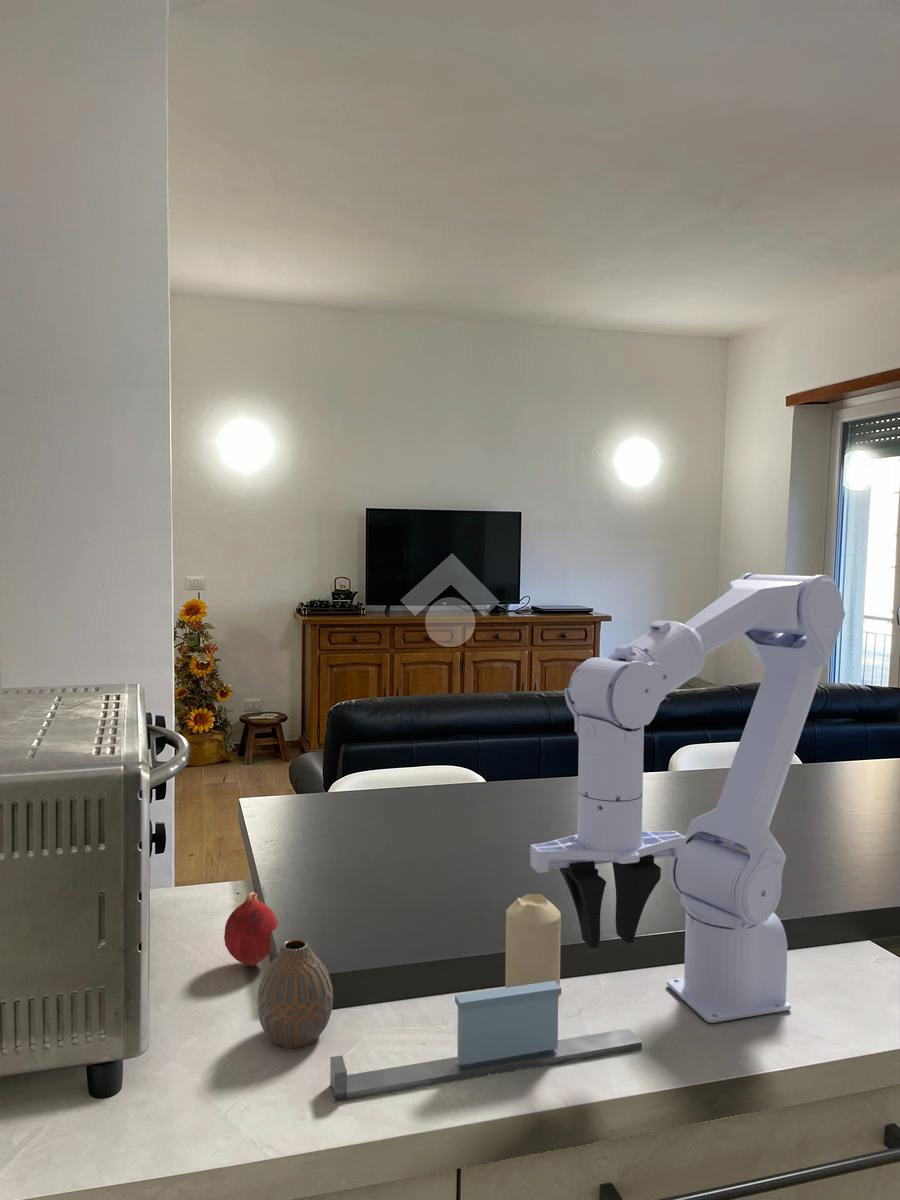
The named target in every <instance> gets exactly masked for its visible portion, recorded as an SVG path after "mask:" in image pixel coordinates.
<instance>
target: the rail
mask: <svg viewBox="0 0 900 1200" xmlns="http://www.w3.org/2000/svg"><path fill="white" fill-rule="evenodd" d="M642 1049H643V1041H641V1039H640V1038H639V1037H638V1036H637V1035H636V1034H635V1033H634V1031H633V1030H632V1029H631V1028H624V1029H623V1028H622V1029H618V1030H612V1031H607V1032H606V1031H605V1032H600V1033H593V1034H588V1035H581V1036H575V1037H569V1038H568V1037H567V1038H564V1039H563V1038H562V1039H558V1049H552V1050H546V1051H540V1052H534V1053H528V1054H522V1055H516V1056H511V1057H505V1058H499V1059H493V1060H487V1061H481V1062H475V1063H469V1064H463V1065H461V1064H460V1062H459V1060H458V1056H455V1057H448V1058H442V1059H436V1060H430V1061H425V1062H424V1061H423V1062H419V1063H412V1064H406V1065H401V1066H393V1067H388V1068H383V1069H381V1068H380V1069H377V1070H376V1069H375V1070H369V1071H364V1072H357V1073H351V1074H348V1070H347V1068H346V1064H345V1063H346V1062H345V1060H344V1058H343V1057H344V1056H343V1055H336V1056H335V1055H334V1056H330V1061H329V1063H330V1064H329V1065H330V1071H329V1072H330V1073H329V1074H330V1076H329V1077H330V1079H329V1081H330V1088H331V1089H330V1090H331V1092H332V1096H333V1100H334V1102H335V1103H337V1102H343V1101H349V1100H354V1099H359V1098H365V1097H366V1098H367V1097H372V1096H377V1095H383V1094H389V1093H395V1092H401V1091H405V1090H406V1091H407V1090H412V1089H416V1088H424V1087H428V1086H433V1085H434V1086H435V1085H440V1084H441V1085H442V1084H446V1083H451V1082H458V1081H463V1080H468V1079H475V1077H476V1078H481V1076H482V1077H487V1076H492V1075H491V1074H493V1075H497V1074H496V1073H499V1074H503V1072H505V1073H510V1071H511V1072H515V1071H520V1070H521V1069H522V1070H527V1068H528V1069H532V1068H533V1069H534V1068H538V1067H543V1066H549V1065H555V1064H561V1063H567V1062H572V1061H573V1062H574V1061H579V1060H584V1059H590V1058H596V1057H602V1056H607V1055H614V1054H619V1053H624V1052H625V1053H627V1052H631V1051H637V1050H642ZM488 1074H489V1075H488Z"/></svg>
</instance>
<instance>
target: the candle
mask: <svg viewBox="0 0 900 1200" xmlns="http://www.w3.org/2000/svg"><path fill="white" fill-rule="evenodd" d="M561 914H562V913H561V912H560V910H559V908H557V907H556V906H555V905H554V904H553V903H552V902H551V901H550V900H548V898H546V897H545V896H544V895H542V894H541V893H535V894H534V893H531V894H529V893H528V894H525V895H523V897H517V899H516V900H515V901H514V902H513V903H512V904H511V905H510V906H508V908H507V909H506V911H505V983H504V985H505V987H504V988H508V987H514V986H521V985H528V984H535V983H542V982H549V981H556V982H557V983H558V985H559V986H560V987H561V929H562V928H561V926H562V925H561V924H562V923H561V921H562V920H561V919H562V918H561V917H562V916H561ZM558 998H560V995H558Z"/></svg>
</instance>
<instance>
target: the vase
mask: <svg viewBox="0 0 900 1200" xmlns="http://www.w3.org/2000/svg"><path fill="white" fill-rule="evenodd" d="M260 979H261V980H260V982H259V985H258V991H257V1000H256V1005H257V1007H256V1008H257V1015H258V1019H259V1020H258V1021H259V1022H260V1026H261V1028H262V1030H263V1031H264V1034H265V1035H266V1036H267V1037H268V1038H269V1039H270V1040H271V1041H272V1042H273V1043H275V1044H276V1045H278V1046H280V1047H283V1048H288V1049H289V1048H290V1049H295V1048H302V1047H305V1046H307V1045H310V1044H311V1043H313V1042H314V1041H315V1040H317V1038H318V1037H320V1036H321V1034H322V1033H323V1032H324V1031H325V1029H326V1028H327V1025H328V1023H329V1022H330V1021H329V1020H330V1018H331V1014H332V1011H333V1005H334V1004H333V1002H334V994H333V993H334V991H333V984H332V981H331V978H330V974H329V971H328V969H327V968H326V966H325V964H323V962H322V961H321V960H320V958H319V957H318V956H317V955H316V954H315V953H314V952H313V950H312V949H311V946H310V944H309V942H308V941H307V940H306V939H303V938H293V939H287V940H286V941H284V942H283V943H282V945H281V946H280V949H279V952H278V954H276V956H275V957H274V959H273V960H272V961H271V962H270V964H269V965H268V966H267V968H266V969H265V971H264V973H263V975H262V976H261V978H260Z"/></svg>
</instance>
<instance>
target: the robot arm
mask: <svg viewBox="0 0 900 1200" xmlns="http://www.w3.org/2000/svg"><path fill="white" fill-rule="evenodd" d="M842 598H843V597H842V594H841V591H840V589H839V587H838V585H837V583H836V581H835V580H834V579H833V578H832V577H831V576H828V575H827V574H816V575H793V574H791V575H790V574H789V575H786V574H785V575H784V574H783V575H782V574H760V573H757V572H747V573H744V574H743V575H741V576H740V577H739V578H737V579H734V580H732V581H730V582H729V583H728V585H727V590H726V592H725V593H724V594H722V596H720V597H718V598H717V599H715V600H714V601H713V602H712V603H710V604H709V605H707V606H706V607H705V608H704V609H702V610H701V611H700V612H698V613H697V614H696V615H694V616H693V617H691V618H690V619H689V620H687V621H686V622H685V623H681V622H679V621H675V620H659V619H658V620H654V622H652V623H650V624H649V630H648V632H645V634H642V635H641V636H639V637H638V638H636V639H634V640H632V641H631V642H629V643H627V644H626V643H622V644H619V645H617V646H616V647H615V649H614V652H612V653H611V654H610V655H609V656H608V657H607V658H606V657H605V658H603V657H596V656H595V657H590V658H588V659H585V661H583V662H582V663H581V664H580V665H579V666H577V667H576V668H575V670H574V671H573V672H572V674H571V677H570V680H569V683H568V687H567V688H566V687H565V688H564V697H565V702H566V706H567V708H568V709H569V711H570V712H571V714H572V716H573V718H574V719H573V720H574V732H575V733H576V735H577V737H578V759H577V760H578V766H577V767H578V768H577V770H578V772H577V773H578V774H577V780H578V781H577V790H578V791H577V833H576V834H574V835H570V836H566V837H562V838H558V839H553V840H550V841H546V842H541V843H540V842H539V843H534V844H529V845H530V847H529V848H530V849H529V851H530V855H529V856H530V858H529V866H530V867H532V869H533V870H534V871H535V872H537V873H538V874H545V873H549V872H550V870H554V869H559V871H560V873H561V875H562V877H563V879H564V881H565V883H566V886H567V889H568V890H569V892H570V895H571V897H572V900H573V903H574V907H575V910H576V914H577V918H578V922H579V927H580V928H579V929H580V933H581V939H582V940H583V941H584V942H585V943H586V945H588V946H589V947H590V948H591V949H595V948H599V947H600V943H601V911H602V902H603V897H604V892H605V889H606V885H607V881H606V880H605V879H604V878H603V877H601V876H600V875H599V869H598V868H596V865H600V864H601V865H603V864H611V863H612V870H613V875H614V876H613V877H614V885H615V897H616V898H615V931H616V935H617V936H618V937H619V938H621V939H622V940H623V942H625V943H626V944H632V943H634V942H635V938H636V937H635V936H636V933H637V929H638V926H639V924H640V920H641V917H642V914H643V911H644V908H645V906H646V903H647V902H648V900H649V897H650V895H651V894H652V892H653V891H654V889H655V887H656V886H657V885H658V883H659V882H660V880H661V875H662V868H661V867H660V866H659V864H657V863H655V859H659V858H668V857H670V859H669V866H668V876H669V881H670V884H671V887H672V888H673V890H675V892H677V893H678V894H679V895H680V897H679V900H680V901H679V904H680V905H681V906H682V907H684V908H685V922H684V923H685V928H684V930H685V934H684V935H685V936H684V937H685V939H684V977H677V978H672V979H671V978H670V979H668V980H667V981H666V986H668V987H669V989H670V990H672V991H673V992H674V993H675V994H676V996H678V997H680V998H681V1000H683V1001H684V1002H685V1003H686V1004H687V1005H688V1006H689V1008H691V1009H693V1011H695V1013H697V1014H698V1015H699V1016H700V1017H701V1018H702V1019H703V1020H704V1021H705V1022H706V1023H711V1024H713V1023H714V1024H715V1023H720V1022H726V1021H732V1020H737V1019H744V1018H749V1017H755V1016H762V1015H767V1014H773V1013H779V1012H785V1011H786V1012H787V1011H790V1010H791V1009H792V1004H791V1003H790V1002H788V1001H787V977H788V976H787V971H788V941H787V939H788V938H787V934H786V932H785V931H786V930H785V928H784V925H783V923H782V921H781V919H780V918H779V916H778V915H777V914H776V913H775V911H776V909H777V907H778V905H779V903H780V900H781V897H782V889H783V888H782V877H783V870H784V867H785V863H786V861H787V856H786V854H785V852H784V851H783V849H782V847H781V845H780V844H779V843H778V841H777V839H776V838H775V837H774V835H773V834H772V832H771V830H770V825H771V823H772V819H773V817H774V814H775V812H776V809H777V805H778V801H779V799H780V797H781V793H782V791H783V787H784V785H785V782H786V778H787V776H788V773H789V770H790V767H791V765H792V762H793V758H794V755H795V752H796V750H797V746H798V744H799V740H800V738H801V735H802V733H803V732H802V731H803V729H804V725H805V724H806V719H807V717H808V715H809V712H810V709H811V706H812V703H813V700H814V697H815V694H816V691H817V688H818V685H819V683H820V679H821V676H822V672H823V668H824V667H825V666H826V665H828V664H829V663H830V660H831V658H832V654H833V652H834V649H835V646H836V643H837V639H838V637H839V634H840V631H841V628H842V625H843V622H844V619H845V616H846V612H845V607H844V604H843V603H844V602H843V599H842ZM739 636H742V638H743V639H744V641H745V643H746V645H747V646H748V648H749V650H750V651H751V653H752V654H753V656H755V657H756V658H758V659H759V660H760V661H761V662H762V665H763V667H764V673H763V676H762V678H761V681H760V684H759V687H758V689H757V692H756V696H755V698H754V701H753V704H752V706H751V710H750V713H749V715H748V718H747V720H746V724H745V726H744V729H743V732H742V735H741V737H740V740H739V742H738V746H737V747H736V748H737V749H736V751H735V755H734V756H733V760H732V762H731V765H730V769H729V771H728V773H727V777H726V779H725V783H724V785H723V788H722V790H721V793H720V796H719V799H718V802H717V805H716V807H715V808H713V809H712V810H710V811H708V812H706V813H704V814H701V815H699V816H697V817H694V818H693V819H691V821H690V823H689V825H688V828H687V831H686V832H685V834H684V835H683V834H681V833H679V832H678V831H676V830H670V831H669V830H667V831H666V830H665V831H654V830H653V831H650V830H649V831H648V830H644V831H643V804H644V803H643V799H644V798H643V797H644V795H643V794H644V793H643V792H644V753H645V752H644V751H645V750H644V744H645V743H644V742H645V740H644V739H645V733H644V732H645V726H648V725H650V723H651V722H652V721H653V720H654V718H655V716H656V714H657V713H658V710H659V707H660V704H661V702H663V701H664V700H666V696H667V695H668V694H670V693H672V692H673V691H675V690H676V689H677V688H679V687H681V686H682V685H684V684H685V683H687V682H688V681H689V680H691V679H692V678H694V677H695V676H697V675H698V674H699V673H700V672H701V671H702V670H703V668H704V667H705V662H706V655H707V654H708V653H711V652H712V651H714V650H715V649H718V648H719V647H721V646H723V645H725V644H727V643H728V642H730V641H732V640H734V639H736V638H738V637H739ZM725 845H730V846H733V847H736V848H739V849H742V850H744V851H748V853H745V852H742V851H740V850H736V849H735V848H731V847H729V846H725Z"/></svg>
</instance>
